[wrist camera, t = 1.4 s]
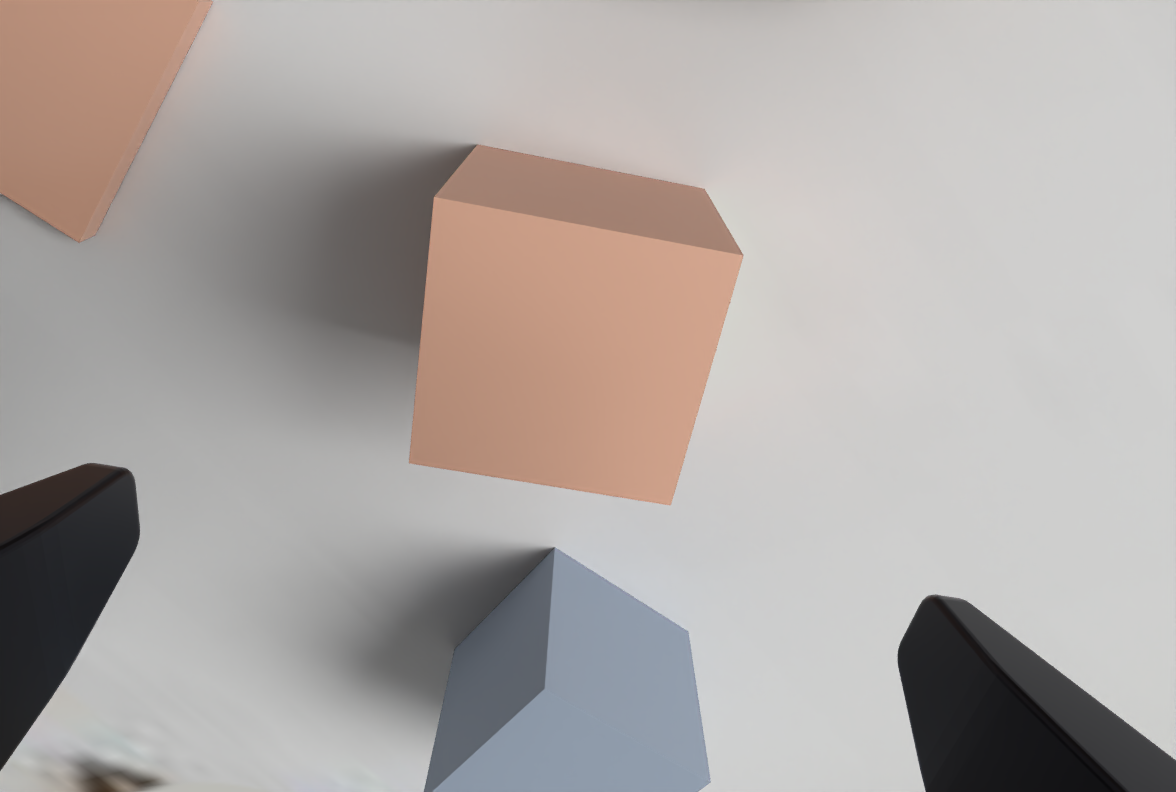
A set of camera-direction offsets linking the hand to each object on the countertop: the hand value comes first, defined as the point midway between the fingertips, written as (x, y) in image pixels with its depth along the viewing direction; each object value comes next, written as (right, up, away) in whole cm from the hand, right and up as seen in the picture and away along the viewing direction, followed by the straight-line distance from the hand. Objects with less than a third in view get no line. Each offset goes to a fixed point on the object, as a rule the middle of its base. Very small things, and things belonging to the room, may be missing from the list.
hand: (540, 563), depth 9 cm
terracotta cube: (0, +5, +9) cm, 10 cm away
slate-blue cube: (0, -5, +14) cm, 15 cm away
